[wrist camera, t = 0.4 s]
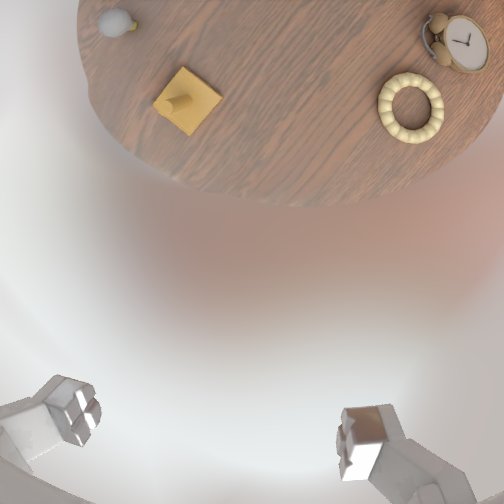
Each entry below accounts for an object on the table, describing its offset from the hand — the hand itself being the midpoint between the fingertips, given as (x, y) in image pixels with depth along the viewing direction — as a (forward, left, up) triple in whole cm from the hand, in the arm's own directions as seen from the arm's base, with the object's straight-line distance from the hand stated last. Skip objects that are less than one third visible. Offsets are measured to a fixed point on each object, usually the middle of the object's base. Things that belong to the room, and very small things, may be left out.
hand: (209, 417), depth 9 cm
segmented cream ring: (-20, +14, -49) cm, 55 cm away
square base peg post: (+6, -14, -50) cm, 52 cm away
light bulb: (+1, -32, -50) cm, 60 cm away
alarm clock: (-37, +10, -50) cm, 63 cm away
